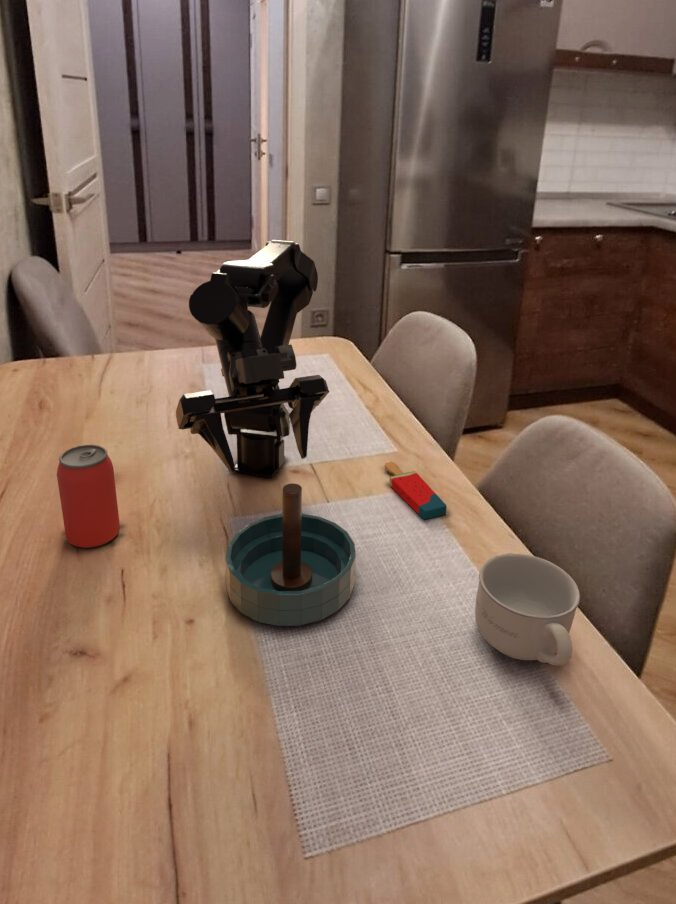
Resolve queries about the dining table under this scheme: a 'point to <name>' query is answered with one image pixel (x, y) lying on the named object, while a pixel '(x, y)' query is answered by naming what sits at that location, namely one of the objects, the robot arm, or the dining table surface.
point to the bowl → (262, 552)
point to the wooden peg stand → (291, 545)
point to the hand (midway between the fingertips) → (269, 464)
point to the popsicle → (416, 492)
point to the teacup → (526, 607)
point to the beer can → (88, 496)
